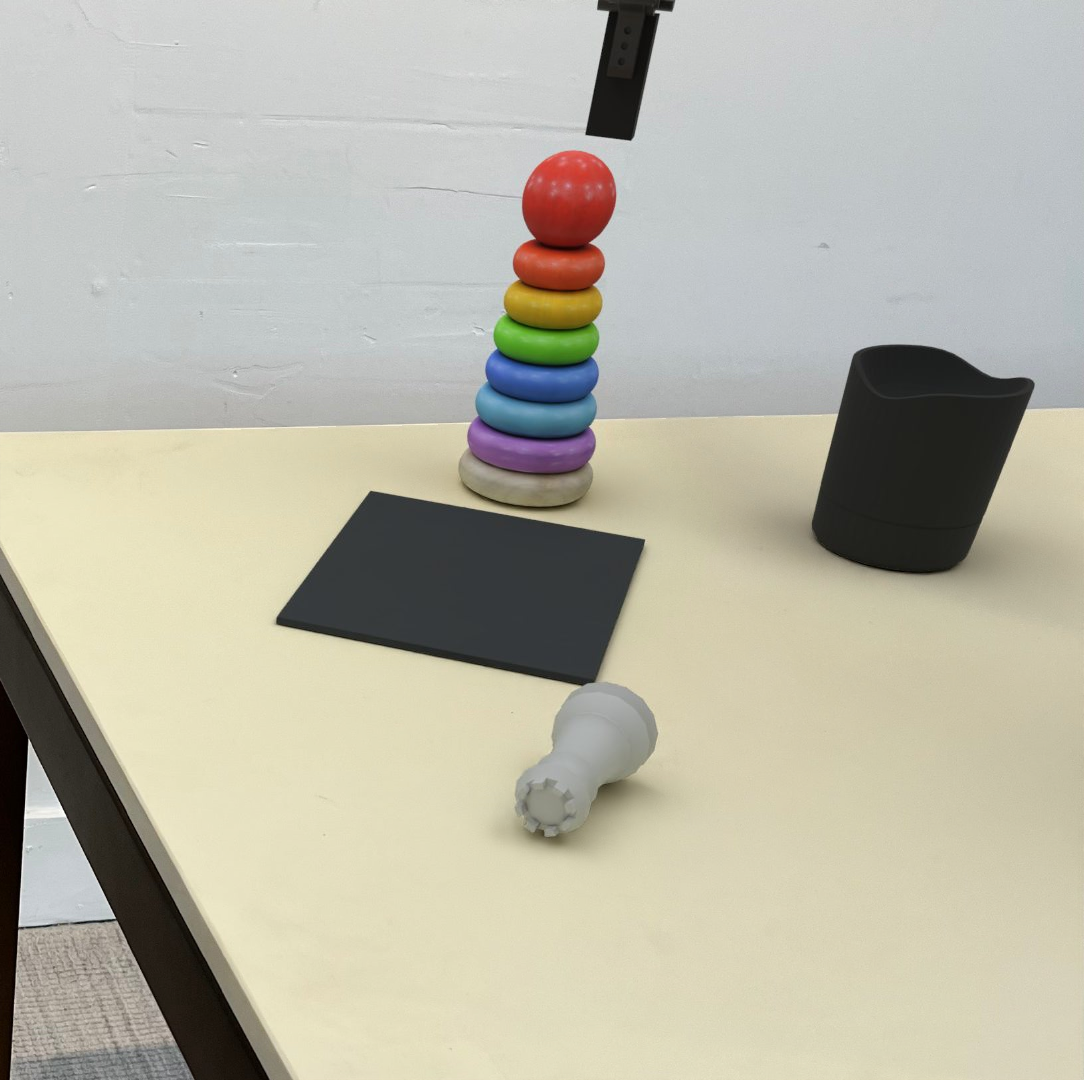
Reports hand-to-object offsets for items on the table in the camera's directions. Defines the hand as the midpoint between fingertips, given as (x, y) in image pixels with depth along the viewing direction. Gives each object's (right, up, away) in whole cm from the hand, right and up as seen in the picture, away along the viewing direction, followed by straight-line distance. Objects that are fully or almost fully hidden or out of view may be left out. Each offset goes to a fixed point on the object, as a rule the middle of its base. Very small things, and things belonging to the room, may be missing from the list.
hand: (609, 135), depth 109 cm
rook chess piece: (-8, -39, -28) cm, 49 cm away
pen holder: (+15, -25, -3) cm, 29 cm away
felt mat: (-10, -29, -10) cm, 32 cm away
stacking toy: (-5, -20, +2) cm, 21 cm away
